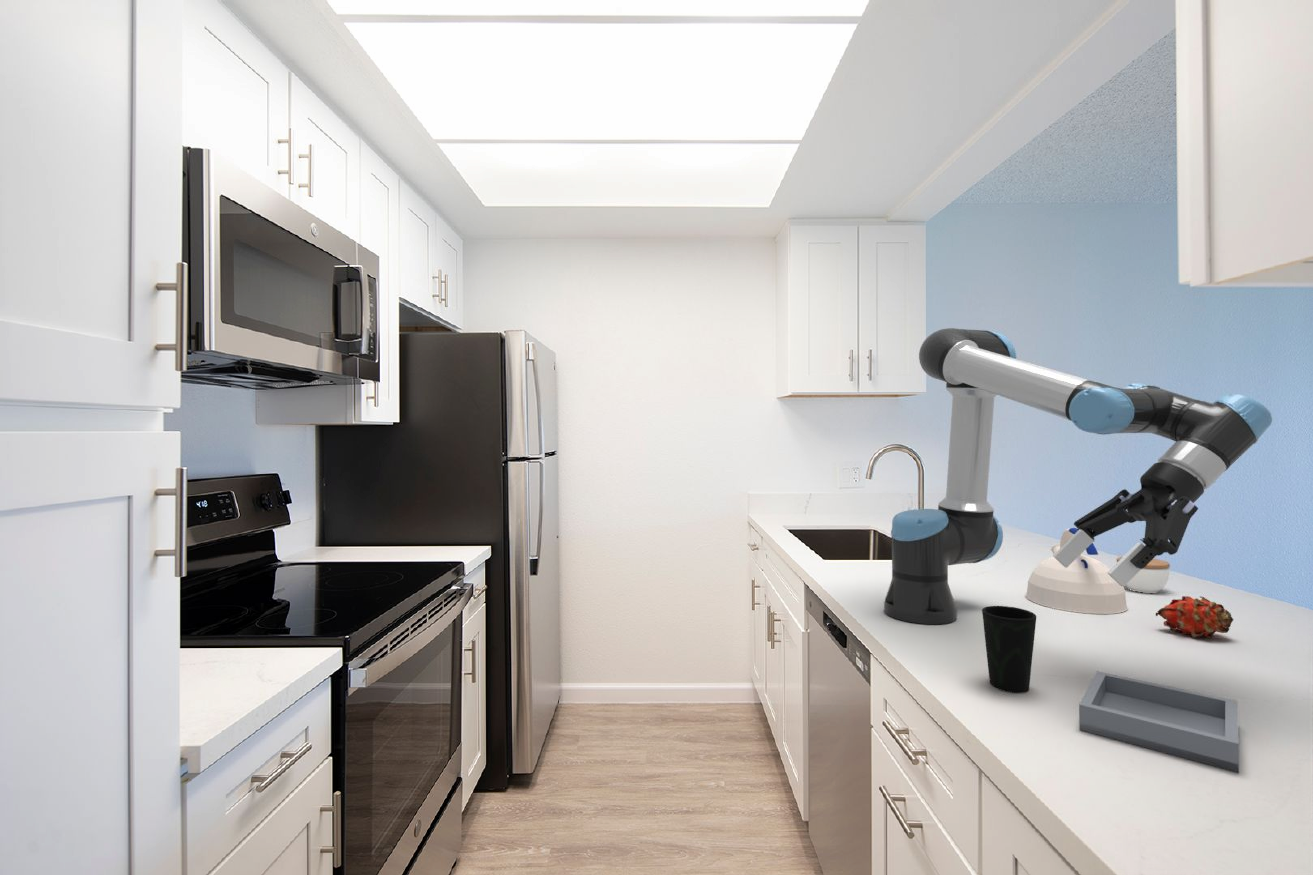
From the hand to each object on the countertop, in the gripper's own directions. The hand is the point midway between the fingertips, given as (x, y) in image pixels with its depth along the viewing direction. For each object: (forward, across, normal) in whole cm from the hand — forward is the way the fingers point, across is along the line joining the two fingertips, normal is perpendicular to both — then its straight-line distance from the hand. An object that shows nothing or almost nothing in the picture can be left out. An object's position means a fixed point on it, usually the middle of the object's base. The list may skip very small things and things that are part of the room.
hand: (1085, 570), depth 99 cm
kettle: (-7, +50, -34) cm, 61 cm away
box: (+13, -14, -14) cm, 23 cm away
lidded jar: (-24, +62, -51) cm, 84 cm away
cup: (+22, 0, -5) cm, 23 cm away
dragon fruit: (-13, +26, -40) cm, 50 cm away
